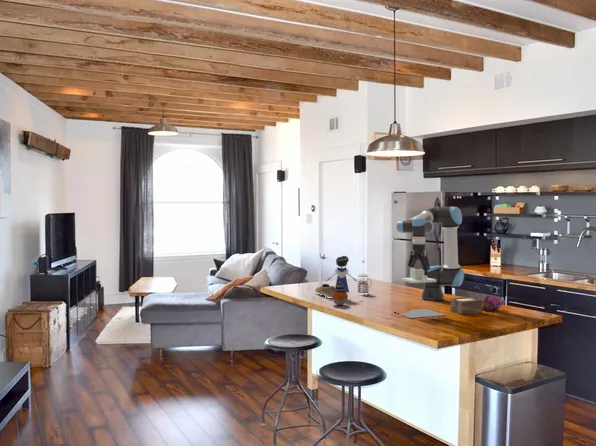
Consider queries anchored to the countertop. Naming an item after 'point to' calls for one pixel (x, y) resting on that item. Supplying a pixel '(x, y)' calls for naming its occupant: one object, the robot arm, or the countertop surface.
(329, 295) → the slip on shoe
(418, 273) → the lid
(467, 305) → the storage box
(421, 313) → the mat
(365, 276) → the french press
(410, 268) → the robot arm
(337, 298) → the grenade
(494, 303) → the anatomical model
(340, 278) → the figurine
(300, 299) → the countertop surface
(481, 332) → the countertop surface
